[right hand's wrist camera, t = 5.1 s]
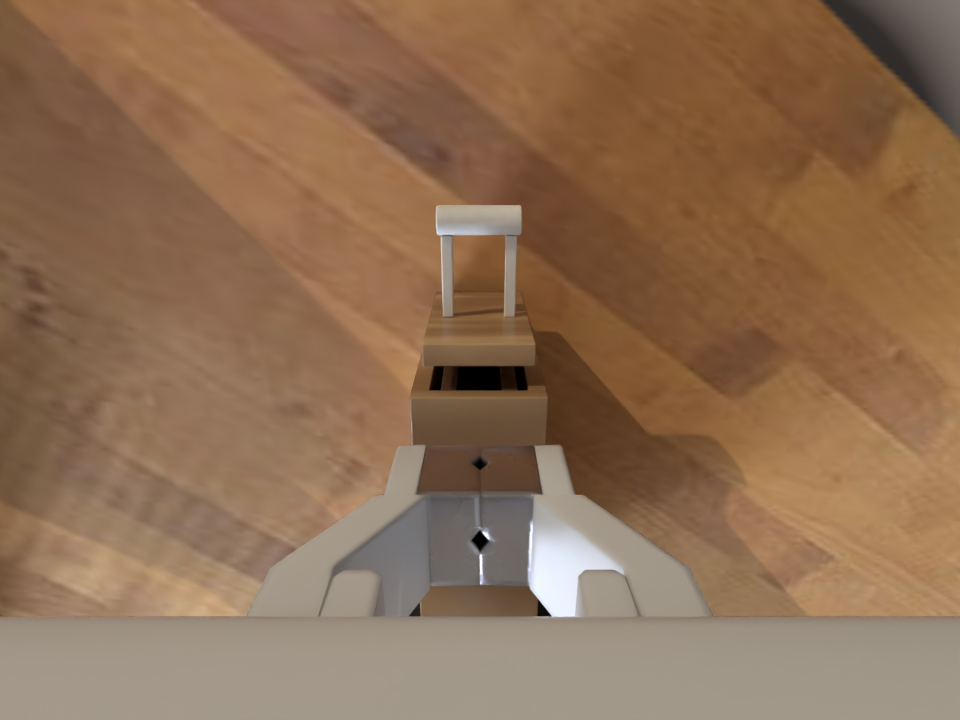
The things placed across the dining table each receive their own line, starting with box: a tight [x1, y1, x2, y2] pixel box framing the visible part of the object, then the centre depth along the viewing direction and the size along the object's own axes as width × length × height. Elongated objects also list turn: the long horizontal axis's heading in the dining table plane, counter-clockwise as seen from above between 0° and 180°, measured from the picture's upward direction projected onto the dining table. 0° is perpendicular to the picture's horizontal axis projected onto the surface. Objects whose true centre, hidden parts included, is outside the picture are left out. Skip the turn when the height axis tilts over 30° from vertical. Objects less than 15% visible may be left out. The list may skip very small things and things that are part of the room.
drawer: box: [422, 205, 536, 391], centre depth 33 cm, size 24×6×10 cm, turn 0°
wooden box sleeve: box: [410, 354, 549, 616], centre depth 35 cm, size 20×7×12 cm, turn 0°
